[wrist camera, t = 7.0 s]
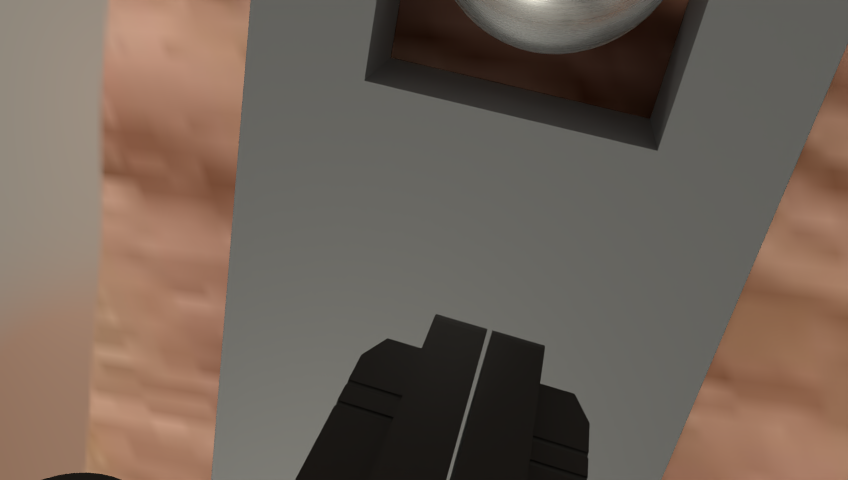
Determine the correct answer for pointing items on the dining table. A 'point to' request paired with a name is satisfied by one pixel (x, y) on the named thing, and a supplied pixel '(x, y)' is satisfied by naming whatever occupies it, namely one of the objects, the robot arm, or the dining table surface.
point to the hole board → (502, 218)
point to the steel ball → (557, 22)
